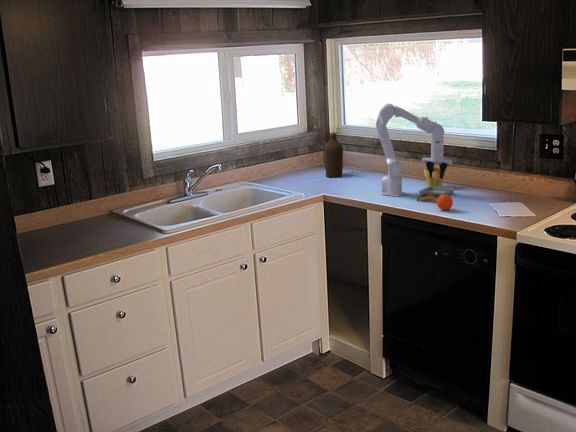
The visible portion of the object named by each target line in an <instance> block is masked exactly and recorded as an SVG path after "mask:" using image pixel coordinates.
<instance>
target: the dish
mask: <svg viewBox="0 0 576 432" xmlns="http://www.w3.org/2000/svg"><path fill="white" fill-rule="evenodd" d="M424 193H431V194H440V195H449V196H450V195H452V194H454V188H453V187H447V186H446V187H444V186H441V187H436V186H429V187H427V186H426V187H425V188H422V189H420V190H419V193H418V194H419V195H418V196H420V195H422V194H424Z"/></svg>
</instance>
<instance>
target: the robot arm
mask: <svg viewBox="0 0 576 432" xmlns="http://www.w3.org/2000/svg"><path fill="white" fill-rule="evenodd" d="M377 116H378V117H377V119H376V122H375V128H376V130H377V133H378V137H379V141H380V144H381V146H382V147H381V148H382V150H383V153H384V156H385V157H384V158H385V159H386V164H387V174H386V175H384V176H383V177H382V179H381V193H380V194H381V195H382V196H391V197H400V196H403V195H404V194H406V192H403V175H402V165H401V163H400V162H399V161H398V160H397V157H396V153H395V150H394V148H393V145H392V144H393V143H392V141H391V136H390V134H389V130H388V128H387V125H388V123H389V121H390V120H391V119H392V118H402V119H405V120H407V121H409V122H411V123H413V124H416V128H418V129H419V130H421V131H423V132H425V133H427V134H431V141H430V142H431V143H430V157H422V158H421V163H425V168H427V169H428V171H429V174H430V178H432V172H433V169H434V167H435V164H439V166H438V167H440V179H442V178H443V179H444V177H445V176H444V173H445V174H446V170H447V168H448V166H449V165H452V164H453V160H452V159H449V158H444V145H445V144H444V135H445V129H444V127H443V126H442V125H441V124H440V123H437V121H435V122H434V121H433V120H430V119H429V117H428V116H420V117H418V116H417V115H415V114H413V113H411V112H410V111H407V110H406V109H404V108H402V107H399V106H398V105H394V104H392V103H386V104H384V105H383V106H382V108H381V109H380V110H379V113H378V115H377ZM443 176H444V177H443ZM381 195H380V196H381Z"/></svg>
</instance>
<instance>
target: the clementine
mask: <svg viewBox="0 0 576 432" xmlns="http://www.w3.org/2000/svg"><path fill="white" fill-rule="evenodd" d="M453 204H454V201H453V198H452V197H451V196H450V195H441V196H440V197H439V198H438V199H437V203H436V206H437V207H438V209H440V210H442V211H449V210H450V209H451V208H452V207H453Z"/></svg>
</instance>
